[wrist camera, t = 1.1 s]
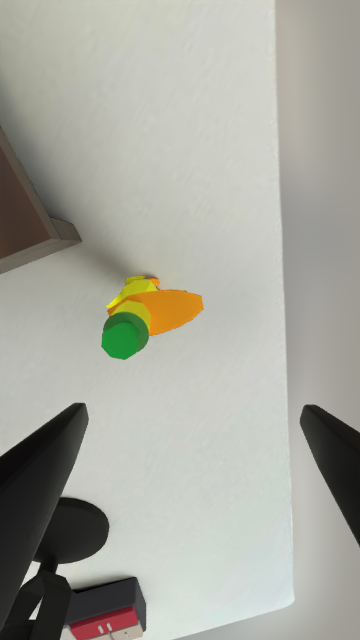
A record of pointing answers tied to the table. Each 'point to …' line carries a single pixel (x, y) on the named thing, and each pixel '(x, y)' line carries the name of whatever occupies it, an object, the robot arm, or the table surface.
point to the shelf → (25, 217)
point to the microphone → (55, 548)
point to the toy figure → (145, 315)
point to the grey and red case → (106, 613)
